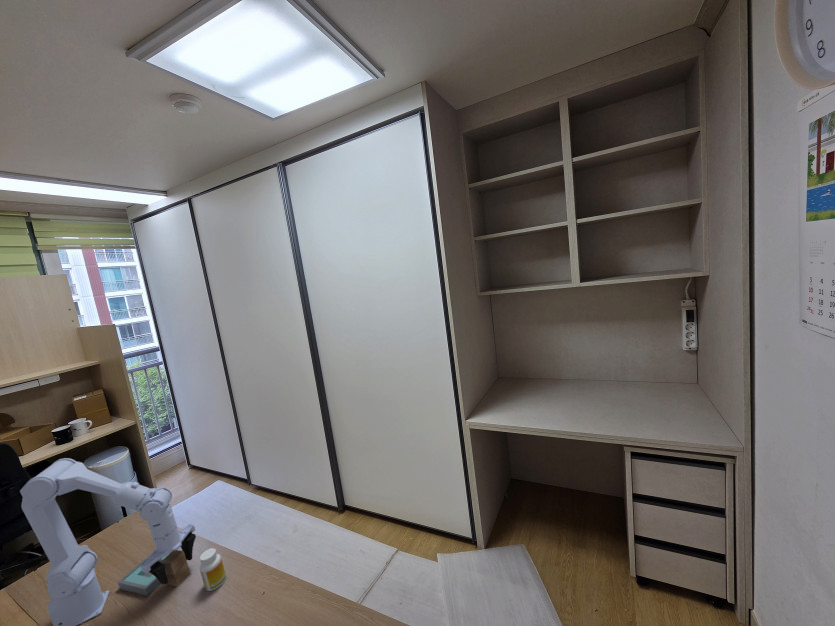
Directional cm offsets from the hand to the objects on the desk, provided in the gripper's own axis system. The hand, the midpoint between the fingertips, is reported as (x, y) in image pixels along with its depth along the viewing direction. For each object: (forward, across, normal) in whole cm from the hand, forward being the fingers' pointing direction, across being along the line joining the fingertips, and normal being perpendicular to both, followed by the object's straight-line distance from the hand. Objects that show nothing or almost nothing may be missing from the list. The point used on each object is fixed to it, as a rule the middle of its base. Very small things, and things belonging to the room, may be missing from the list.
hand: (177, 570), depth 99 cm
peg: (+3, 0, 0) cm, 3 cm away
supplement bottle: (+3, +1, -13) cm, 14 cm away
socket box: (+3, 0, +11) cm, 11 cm away
